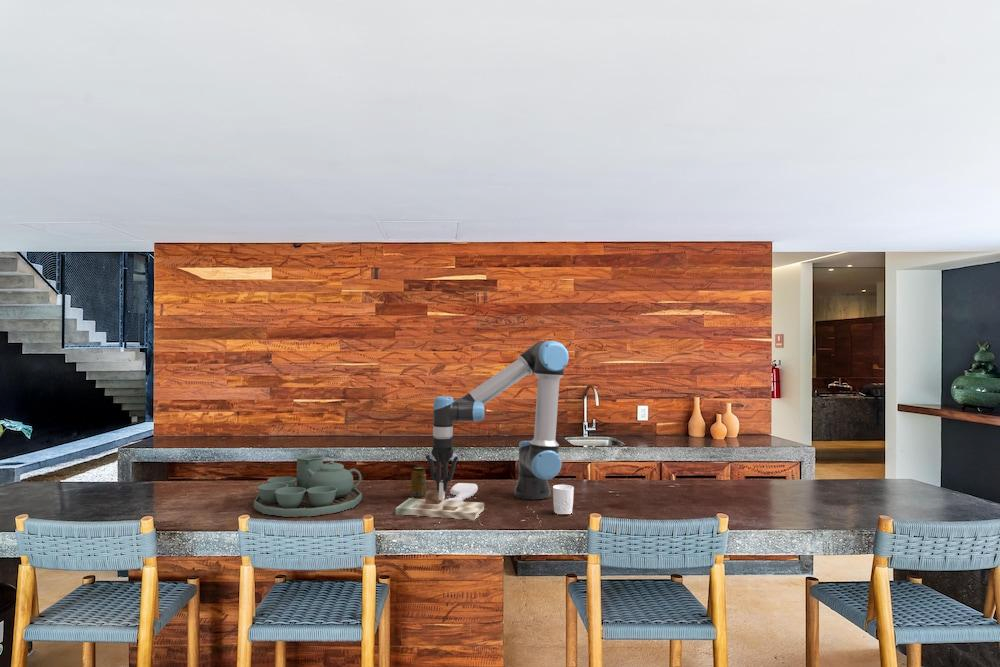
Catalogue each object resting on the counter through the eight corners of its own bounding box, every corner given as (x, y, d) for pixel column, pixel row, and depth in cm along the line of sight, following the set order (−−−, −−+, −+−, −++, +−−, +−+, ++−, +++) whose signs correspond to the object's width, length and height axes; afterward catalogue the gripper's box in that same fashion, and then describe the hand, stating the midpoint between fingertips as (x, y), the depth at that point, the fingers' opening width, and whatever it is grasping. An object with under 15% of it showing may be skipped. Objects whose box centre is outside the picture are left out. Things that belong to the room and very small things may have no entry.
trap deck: (484, 509, 234) (484, 502, 234) (475, 520, 219) (475, 513, 219) (409, 504, 240) (409, 498, 240) (395, 514, 225) (395, 508, 225)
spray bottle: (479, 490, 266) (467, 506, 242) (454, 489, 268) (440, 504, 244) (479, 483, 266) (468, 498, 242) (454, 482, 268) (441, 497, 244)
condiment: (421, 494, 257) (421, 465, 258) (432, 498, 251) (432, 468, 251) (406, 496, 253) (406, 467, 253) (417, 500, 246) (417, 470, 246)
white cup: (568, 518, 224) (568, 490, 224) (548, 514, 228) (549, 487, 228) (577, 513, 231) (577, 486, 231) (558, 509, 235) (558, 483, 235)
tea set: (235, 505, 237) (236, 462, 238) (326, 488, 267) (327, 450, 267) (287, 526, 211) (288, 478, 211) (382, 504, 240) (382, 462, 241)
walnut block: (441, 501, 236) (442, 490, 236) (438, 504, 231) (438, 493, 231) (429, 500, 237) (429, 490, 237) (425, 503, 232) (425, 493, 232)
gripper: (461, 436, 236) (460, 498, 236) (429, 435, 239) (428, 496, 238) (456, 439, 229) (455, 502, 228) (423, 437, 231) (422, 500, 231)
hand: (441, 499), depth 233 cm, fingers closed
